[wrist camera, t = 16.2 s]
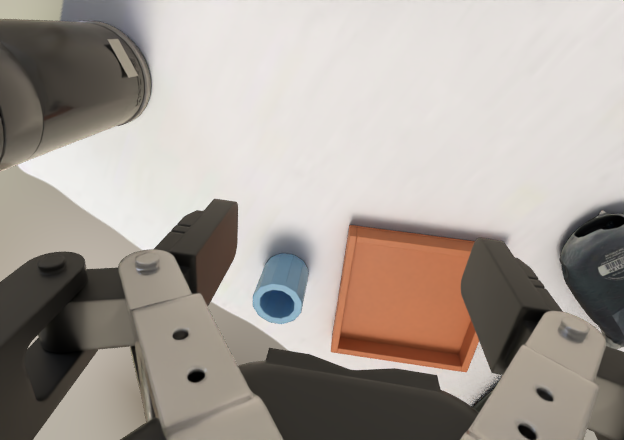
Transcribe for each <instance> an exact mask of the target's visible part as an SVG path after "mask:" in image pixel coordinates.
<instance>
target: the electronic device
mask: <svg viewBox="0 0 624 440" xmlns="http://www.w3.org/2000/svg"><path fill="white" fill-rule="evenodd" d="M599 214H600V215H598V216H597V217H595V218H593V219H591V220H589V221H588V222H586V223H585V224H583V225H582V226H581V227H580V228H578V229H577V230H576V231H575V232H574V233H573V234H572V235H571V237H570V238H569V239H568V241H567V242H566V244H565V246H564V247H563V250H562V252H561V256H560V261H561V264H562V271H563V276H564V280H565V282H566V284H567V286H568V287H569V289H570V290H571V292H572V294H573V295H574V297H575V298H576V300H577V301H578V303H579V304H580V305H581V307H582V308H583V309H584V310H585V312H586V313H587V314H588V316H589V317H590V318H591V319H592V320H593V321H594V322H595V323H596V324H597V325H598V326H599V327H600V329H601V332H602V335H603V336H604V338H605V340H606V346H608V347H611V348H613V349H619V348H621V347H624V214H607V213H606V212H605V211H603V210H602V211H601V212H600V213H599Z"/></svg>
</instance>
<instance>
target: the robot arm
mask: <svg viewBox="0 0 624 440" xmlns="http://www.w3.org/2000/svg"><path fill="white" fill-rule="evenodd" d="M150 93H151V80H150V74H149V70H148V67H147V64H146V61H145V59H144V57H143V55H142V54H141V52H140V50H139V49H138V48H137V46H136V45H135V44H134V43H133V41H132V40H131V39H130V38H129V37H128V36H126V35H125V34H124V33H123V32H121V31H120V30H118V29H117V28H115V27H113V26H111V25H109V24H106V23H102V22H97V21H78V22H69V21H47V20H44V21H43V20H17V19H0V171H3V170H5V169H8V168H11V167H13V166H16V165H18V164H20V163H23V162H25V161H28V160H30V159H33V158H36V157H38V156H41V155H43V154H46V153H48V152H51V151H53V150H56V149H59V148H61V147H64V146H66V145H69V144H71V143H74V142H76V141H79V140H82V139H84V138H87V137H89V136H92V135H94V134H97V133H99V132H102V131H105V130H107V129H110V128H112V127H115V126H120V125H123V124H126V123H128V122H131V121H133V120H134V119H136V118H137V117H138V116H140V115H141V113H142V112H143V111H144V109H145V108H146V106H147V104H148V101H149V98H150ZM237 233H238V204H237V202H234V201H227V200H220V199H214V200H213V201H212V202H211V203H210V204H209V205H208V207H207V208H206V209H205V210H204V211H198V210H197V211H195V212H192V213H190V214H188V215H186V216H184V217H183V219H182V220H181V221H180V222H179V223H178V225H176V226H175V227H174V228H173V229H172V231H171V232H169V233H168V234H167V236H166V237H165V238H164V239H163V240H162V241H161V242H160V243H159V244H158V245H157V246H156V247H155V248H154V249H153V250H142V251H138V252H135V253H132V254H130V255H128V256H126V257H125V258H123V259H122V260H121V262H120V263H119V266H118V268H104V269H86V265H85V259H84V258H83V257H82V256H81V255H79V254H76V253H73V252H54V253H48V254H44V255H41V256H38V257H36V258H33V259H31V260H29V261H28V262H26V263H25V264H24V265H22V266H21V267H20V268H18V269H17V270H16V271H14V272H13V273H12V274H10V275H9V276H8V277H6V278H5V279H4V280H2V281H1V282H0V440H33V439H34V437H35V436H36V434H37V433H38V432H39V430H40V429H41V428H42V426H43V425H44V424H45V422H46V421H47V419H48V418H49V417H50V415H51V414H52V413H53V411H54V410H55V409H56V407H57V406H58V404H59V403H60V402H61V400H62V399H63V398H64V396H65V395H66V393H67V392H68V391H69V389H70V388H71V386H72V385H73V384H74V382H75V381H76V380H77V378H78V377H79V376H80V374H81V373H82V371H83V370H84V369H85V367H86V366H87V365H88V363H89V362H90V360H91V359H92V358H93V356H94V355H95V354H96V352H97V351H98V349H107V348H118V347H129V346H130V350H131V354H132V359H133V363H134V368H135V372H136V376H137V381H138V385H139V389H140V394H141V398H142V403H143V408H144V414H145V419H146V423H145V424H143V425H142V426H140V427H139V428H137V429H136V430H134V431H133V432H131V433H130V434H128V435H127V436H125V437H123V438H122V439H120V440H584V437H585V433H586V430H587V429H589V430H591V431H593V432H595V435H596V437H597V439H598V440H624V352H622V351H619V350H616V349H613V348H611V347H608V346H606V340H605V338H604V336H603V335H602V334H601V333H600V332H599V330H598V329H596V328H595V327H594V326H593V325H591V324H590V323H588V322H587V321H585V320H583V319H581V318H579V317H577V316H575V315H572V314H569V313H565V312H563V311H562V310H561V309H560V307H559V306H558V304H557V303H556V302H555V300H554V299H553V298H552V296H551V295H550V294H549V292H548V291H547V289H544V285H543V284H542V283H541V281H540V280H538V277H537V276H536V274H535V273H534V272H533V270H532V269H531V268H530V267H529V266H527V265H526V264H525V263H524V262H522V261H521V260H520V259H518V258H515V257H514V256H513V254H512V253H511V252H510V250H509V249H508V247H507V246H506V244H505V243H504V242H503V241H498V240H491V239H484V238H477V239H476V241H475V242H474V244H473V247H472V250H471V253H470V256H469V259H468V261H467V264H466V267H465V270H464V273H463V276H462V279H461V295H462V298H463V300H464V303H465V306H466V308H467V311H468V313H469V316H470V318H471V321H472V323H473V326H474V329H475V331H476V334H477V336H478V339H479V341H480V344H481V346H482V349H483V351H484V354H485V357H486V359H487V362H488V364H489V367H490V369H491V372H492V373H496V374H502V375H503V376H502V377H501V379H500V381H499V382H498V384H497V385H496V387H495V389H494V390H493V392H492V393H491V395H490V397H489V398H488V400H487V401H486V403H485V404H484V406H483V408H482V409H481V411H480V412H478V411H476V410H475V409H474V408H472V407H471V406H470V405H468V404H467V403H465V402H464V401H462V400H460V399H459V398H457V397H455V396H453V395H451V394H449V393H447V392H445V391H442V390H440V386H439V382H438V377H437V375H432V374H426V373H420V372H414V371H408V370H401V369H395V368H394V369H374V370H350V369H347V368H344V367H341V366H339V365H336V364H333V363H331V362H328V361H326V360H323V359H320V358H318V357H315V356H312V355H310V354H304V353H298V352H292V351H285V350H279V349H273V348H269V351H268V354H267V358H266V361H256V362H250V363H246V364H242V365H239V366H238V365H237V363H236V361H235V359H234V358H233V356H232V353H231V351H230V350H229V347H228V346H227V344H226V342H225V340H224V338H223V336H222V334H221V332H220V330H219V328H218V326H217V324H216V322H215V320H214V318H213V316H212V314H211V312H210V310H209V308H208V305H209V303H210V302H211V300H212V298H213V296H214V294H215V293H216V291H217V289H218V287H219V285H220V283H221V282H222V280H223V278H224V276H225V274H226V272H227V271H228V269H229V267H230V265H231V263H232V262H233V260H234V257H235V254H236V249H237ZM37 335H38V336H39V338H38V339H37V340H36V341H35V342H34V343H33V344H32V345H31V346H30V347H29V348H28V346H29V345H30V343H31V342H32V340H33V339H34V338H35V337H36V336H37ZM27 348H28V349H27Z"/></svg>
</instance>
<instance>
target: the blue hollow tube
mask: <svg viewBox="0 0 624 440" xmlns="http://www.w3.org/2000/svg"><path fill="white" fill-rule="evenodd" d="M308 272H309V271H308V269H307V267H306V265H305V263H304V261H303V260H301V259H300V258H298V257H297V256H295V255H293V254H285V253H281V254H278V255H275V256H272V257H271V258H270V259H269V260H268V262H267V263H266V264H265V267H264V269H263V272H262V274H261V277H260V279H259V282H258V285H257V287H256V290H255V292H254V295H253V307H254V309H255V310H256V312H257V314H258V315H259V316H260V317H262V318H263V319H265V320H267V321H268V322H271V323H278V324H284V323H288V322H291V321H293V320H295V319H296V318H297V317H298V316H299V314H300V313H301V311H302V306H303V301H304V296H305V291H306V286H307V281H308Z"/></svg>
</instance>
